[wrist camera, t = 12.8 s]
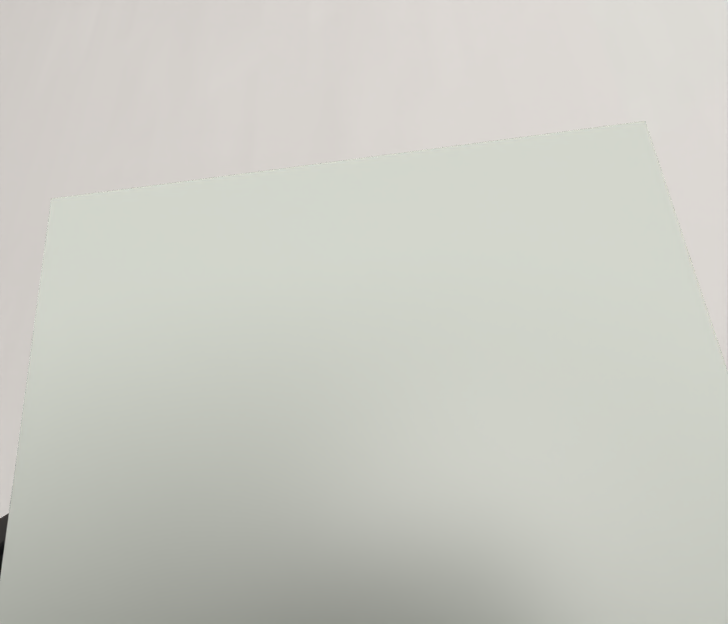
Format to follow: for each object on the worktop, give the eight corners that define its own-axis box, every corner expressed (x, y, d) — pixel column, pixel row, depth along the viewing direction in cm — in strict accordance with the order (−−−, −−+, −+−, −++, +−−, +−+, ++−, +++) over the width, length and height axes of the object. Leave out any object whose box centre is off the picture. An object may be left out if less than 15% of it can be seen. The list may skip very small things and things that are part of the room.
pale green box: (550, 654, 15) (911, 930, 4) (298, 675, 15) (-54, 981, 4) (505, 404, 17) (645, 120, 6) (288, 427, 18) (51, 199, 6)
